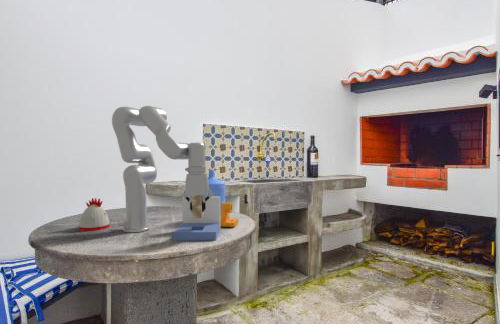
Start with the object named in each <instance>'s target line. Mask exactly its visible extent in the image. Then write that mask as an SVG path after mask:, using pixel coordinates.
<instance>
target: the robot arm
mask: <svg viewBox="0 0 500 324" xmlns="http://www.w3.org/2000/svg"><path fill="white" fill-rule="evenodd" d="M167 118H168V117H167V113H166V111H165V110H164V109H162V108H160V107H156V106H152V105H145V106H142V107H140V108H139V109H138V108H134V107H131V106H130V107H129V106H120V107H117V108H116V109H115V110H114V112H113V113H112V116H111V125H112V129H113V131H114V134H115V136H116V140H117V144H118V148H119V152H120V156H121V159H122V161H123V162H125V163H127V164H132V165H129V166H127V167H126V168H125V169H124V170H123V173H122V177H123V183H124V190H125V220H124V221H122V220H120V221H117V225H118V226H119V227H122V232H125V233H141V232H146V231H149V230H150V229H151V226H150V224H148V222H147V219H148V218H147V190H146V188H145V185H144V184H151V183H153V182H155V181H156V179H157V176H158V171H157V167H156V162H155V158H154V156H153V155H154V154H153V151H152V150H151V148H150V147H149V146H147V145H146V144H140V143H139V142H138V141H137V138H136V135H135V132H134V131H133V129H132V128H131V126H137V127H147V129H149V131H150V132H151V133H152V134H153V135H154V136H155V141H156V145H157V146H158V148H159V149H160V151H161V153H163V154H164V155H165V156H166V157H168V159H170V160H175V161H176V160H182V161H183V160H188V161H187V163H188V164H187V166H188V167H185V169H184V170H185V172H187V173H186V177H185V186H184V187H185V188H184V189H185V190H184V191H183V192H182V194H181V198H182V197H183V198H185V199H186V200H187V201H188V202H189V203H190V210H191V212H192V195H201V196H202V200H203V201H202V212H204V210H206V201H207V200H208V199H209V198H211V197H212V196H213V193H212V192H211V190H210V189H209V182H208V177H209V174H208V173H207V172H206V171H207V170H206V145H205V143H204V142H190V143H187V142H177V141H175V140H174V139H173V138H172V137H171V136H170V134H169V133H170V131H171V130H172V129H171V128H172V127H171V124H170V123H169V122H168V121H167ZM208 194H209V196H207V197H205V196H206V195H208ZM189 197H190V198H189Z"/></svg>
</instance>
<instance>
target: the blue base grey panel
mask: <svg viewBox="0 0 500 324" xmlns="http://www.w3.org/2000/svg"><path fill="white" fill-rule="evenodd" d="M188 197H189V198H190V196H188ZM181 198H182V204H181V205H182V223H181V224H180V225H179V226H178V227H177V228H176V229H175V230H174V231H173V235H172V236H173V241H174V242H175V241H216V240H217V239H218V236H219V233H220V231H221V226H220V197H211V198H209V199H208V200H207V201H206V210H204V215H203V217H202V218H192V212H191V210H190V203H189V202H188V201H187V200H186V199H185V198H183V197H182V196H181Z"/></svg>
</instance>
